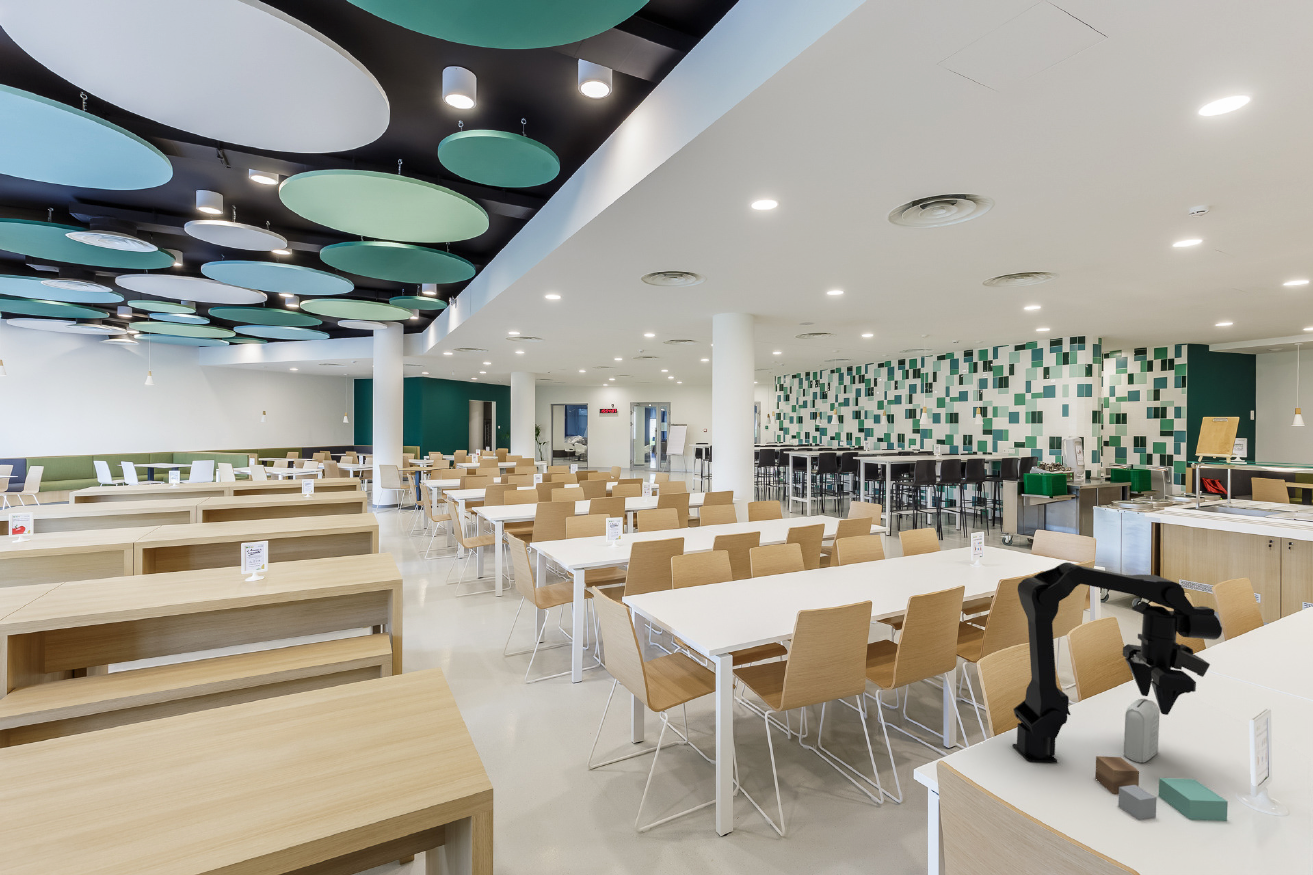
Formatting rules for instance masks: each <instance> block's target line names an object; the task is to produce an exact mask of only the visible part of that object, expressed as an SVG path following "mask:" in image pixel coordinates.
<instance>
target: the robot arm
mask: <svg viewBox="0 0 1313 875" xmlns="http://www.w3.org/2000/svg"><path fill="white" fill-rule="evenodd" d="M1080 585H1084V586H1090V587H1093V588H1099V589H1103V590H1109V591H1113V592H1119V593H1124V594H1128V595H1133V596H1136V597H1139V598H1141V599H1144V600H1147V601H1149V602H1151V603H1155V604H1157V605H1151V604H1150V603H1148V602H1146V601H1143V600H1141V601H1140V602H1139V603H1137V604H1136V605H1134V606H1132V607H1131V609H1132V610H1133V611H1135V612H1137V613H1139V614H1141V615H1142V625H1141V626H1142V627H1141V633H1137V639H1138V640H1140V645H1137V644H1130V643H1129V644H1128V643H1127V644H1126V645H1124V646H1123V647H1122V656H1123V657H1124V660H1125V662H1126V664H1127V665H1128V668H1129V670H1130V672H1131V674H1132V676H1133V678H1134V681H1135V683H1136V686H1137V687H1138V690H1139V693H1140V694H1141V696H1143V697H1148V696H1149V693H1150V690H1151V686H1152V689H1153V692H1154V695H1155V700H1156V702H1157V703H1156V704H1157V706H1158V707H1159V711H1160V713H1161V715H1165V716H1168V715H1169V714H1170V712H1171V710H1172V708H1173V707H1174V705H1175V703H1176V701H1177V699H1178V698H1179V696H1181V695H1183V694H1190V693H1191V692H1192V693H1194V692H1196V689H1197V688H1196V687H1197V682H1196V680H1194V679H1193V677H1191V676H1190V675H1188V673H1186V672H1184V670H1182V669H1186V670H1188V671H1190V672H1192V673H1194V674H1196V675H1197V676H1199V677H1202V678H1203V677H1205V675H1206V672H1207V671H1208V669H1209V668H1210V665H1211V664H1210V663H1209V662H1207V661H1206V660H1205V659H1203V658H1201V657H1199V656H1198V655H1197V654H1194V650H1193V648H1191V647H1189V646H1188V645H1186V644H1183V643H1181V644H1179V643H1178V642H1177V634H1178V635H1179V636H1181V637H1182V638H1188V639H1200V640H1201V639H1203V640H1217V639H1219V638H1220V637H1221V636H1222V633H1223V627H1222V626H1221V622H1220V620H1219V618H1218V617H1217V616H1216V615H1215V609H1214V608H1211V607H1208V606H1204V605H1202V606H1201V605H1200V606H1193V604H1192V603H1191V602H1190V600H1189V599H1188V598H1187V596H1186V592H1185V589H1184V587H1182V584H1180V583H1179V582H1176V581H1173V580H1170V579H1167V578H1164V577H1161V576H1159V575H1155V574H1141V573H1140V574H1122V573H1118V572H1113V571H1107V570H1103V569H1098V568H1092V567H1089V566H1088V567H1087V566H1083V565H1078V564H1074V563H1072V562H1069V561H1068V562H1063V563H1060V564H1058V565H1057V566H1055V567H1054V568H1050V569H1047V570H1044V571H1042V572H1038V573H1037V574H1035V575H1034V576H1031V577H1026V578H1024V579H1022V580H1021V581H1020V582H1019V583H1018V585H1017V594H1018V597H1019V601H1020V605H1021V607H1022V608H1023V611H1024V614H1025V616H1026V619H1027V627H1028V629H1027V630H1028V644H1029V645H1028V646H1029V656H1030V672H1031V675H1030V677H1031V679H1030V682H1029V684H1028V685H1027V687H1026V690H1025V699H1024V700H1023V701H1021V702H1020V703H1019V704H1017V706H1015V707H1014V708H1013V712H1014V716H1015V718H1016V719H1018V720H1019V721H1020V722H1017V727H1016V728H1017V729H1016V730H1017V731H1016V743H1012V747H1013V749H1015V750H1016V751H1017V752H1018V753H1019V754H1020V755H1021V756H1022V757H1023V758H1024V759H1025V760H1026V761H1028V762H1030V763H1031V762H1035V763H1036V762H1037V763H1056V764H1057V763H1058V759H1057V758H1056V757H1055V755H1056V739H1057V738H1058V735H1059V732H1060V731H1061V728H1062V726H1063V725H1065V724H1067V722H1068V716H1071V715H1072V714H1071V712H1070V711H1069V701H1070V699H1069V695H1067V694H1066V693H1065V692H1063V691H1062V690H1061V689H1060V688H1059V687H1058V685H1057V676H1056V675H1057V674H1056V672H1057V671H1056V659H1055V656H1056V655H1055V642H1054V641H1055V640H1054V627H1053V623H1054V620H1055V618H1056V617H1057V614H1058V613H1059V609H1060V608H1059V607H1060V601H1063V600H1065V599H1066V598H1068V597H1069V596H1070V595H1071V593H1072V592H1073V591H1074V590H1075V589H1076V587H1079V586H1080ZM1167 608H1168V609H1172V610H1168V609H1167ZM1172 668H1173V669H1172Z"/></svg>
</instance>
